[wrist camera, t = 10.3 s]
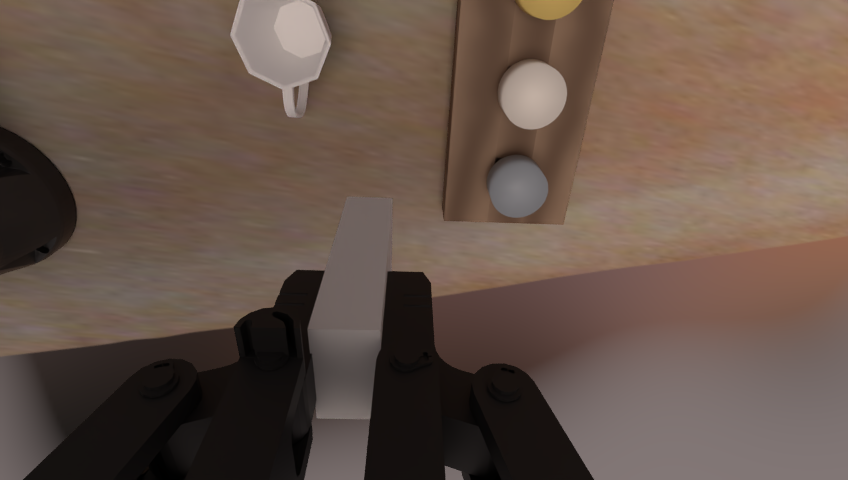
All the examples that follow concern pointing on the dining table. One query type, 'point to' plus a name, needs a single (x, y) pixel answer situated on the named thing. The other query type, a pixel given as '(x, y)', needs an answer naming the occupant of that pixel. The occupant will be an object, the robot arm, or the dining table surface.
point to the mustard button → (548, 8)
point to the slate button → (517, 186)
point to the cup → (283, 45)
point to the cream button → (532, 94)
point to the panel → (486, 121)
